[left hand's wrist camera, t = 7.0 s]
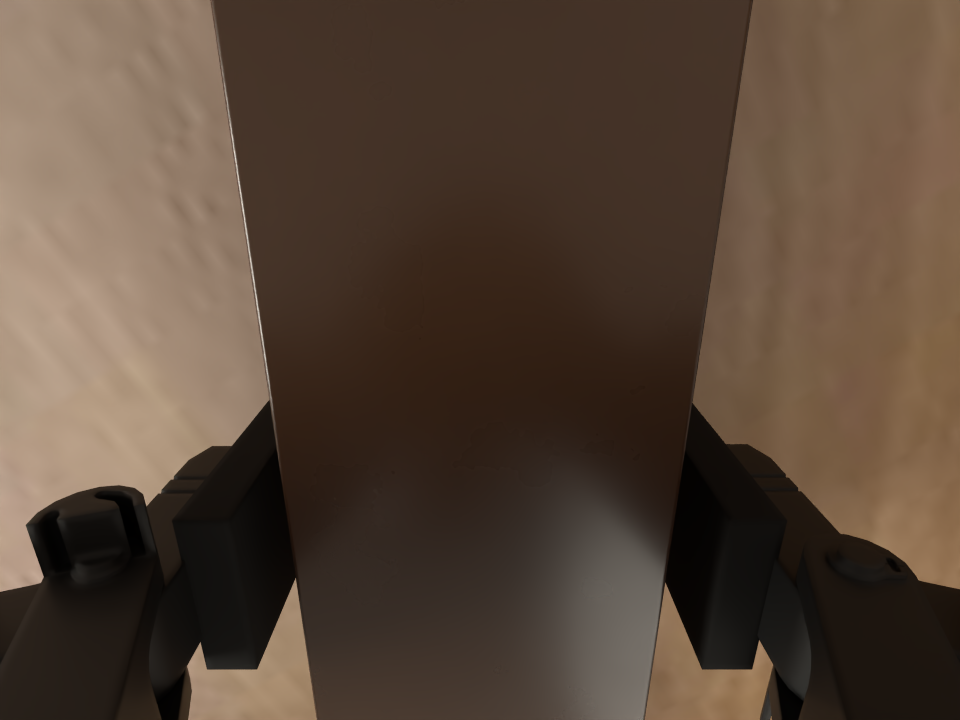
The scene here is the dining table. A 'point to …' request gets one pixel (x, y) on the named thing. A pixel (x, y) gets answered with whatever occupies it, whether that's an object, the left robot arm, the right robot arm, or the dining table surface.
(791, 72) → the dining table surface
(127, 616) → the left robot arm
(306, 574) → the beam
